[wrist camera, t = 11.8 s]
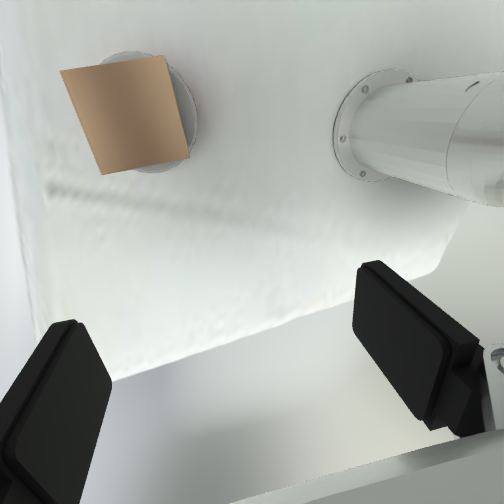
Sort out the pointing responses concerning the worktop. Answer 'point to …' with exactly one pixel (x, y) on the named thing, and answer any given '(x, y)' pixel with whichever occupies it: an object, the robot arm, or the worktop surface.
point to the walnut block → (128, 113)
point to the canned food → (184, 104)
